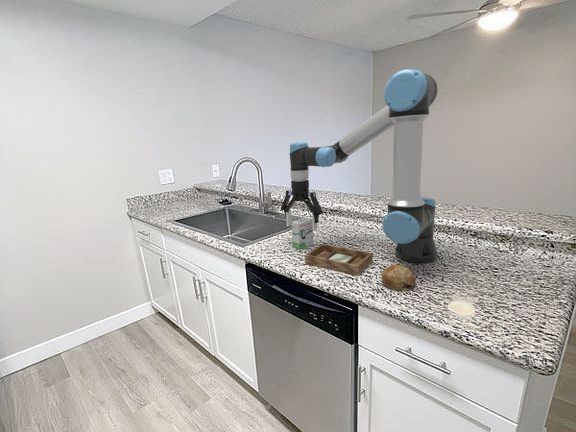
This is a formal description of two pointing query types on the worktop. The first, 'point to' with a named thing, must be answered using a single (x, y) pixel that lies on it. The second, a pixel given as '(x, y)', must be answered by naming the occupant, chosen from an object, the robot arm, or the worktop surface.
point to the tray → (339, 259)
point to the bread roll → (398, 278)
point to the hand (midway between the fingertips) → (301, 227)
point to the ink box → (302, 233)
